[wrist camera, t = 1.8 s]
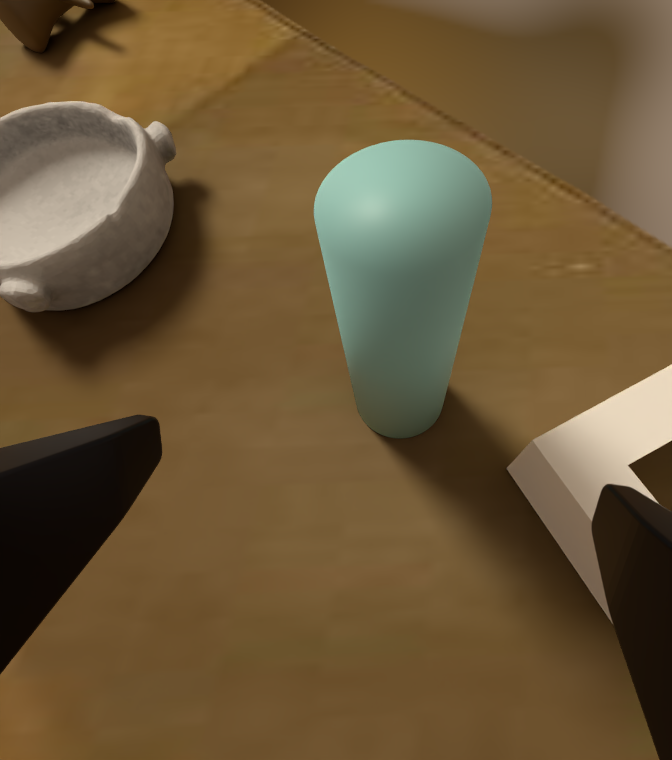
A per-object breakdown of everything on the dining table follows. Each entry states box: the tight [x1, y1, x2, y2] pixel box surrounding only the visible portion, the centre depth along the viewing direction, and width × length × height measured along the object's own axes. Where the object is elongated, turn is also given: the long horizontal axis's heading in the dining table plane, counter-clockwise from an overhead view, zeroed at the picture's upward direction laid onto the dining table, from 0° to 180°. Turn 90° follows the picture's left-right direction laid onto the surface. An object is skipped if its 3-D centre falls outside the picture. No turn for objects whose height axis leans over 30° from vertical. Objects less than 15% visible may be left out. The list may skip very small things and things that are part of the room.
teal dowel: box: [314, 140, 492, 438], centre depth 17 cm, size 4×4×13 cm
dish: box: [0, 101, 176, 312], centre depth 29 cm, size 14×14×5 cm
